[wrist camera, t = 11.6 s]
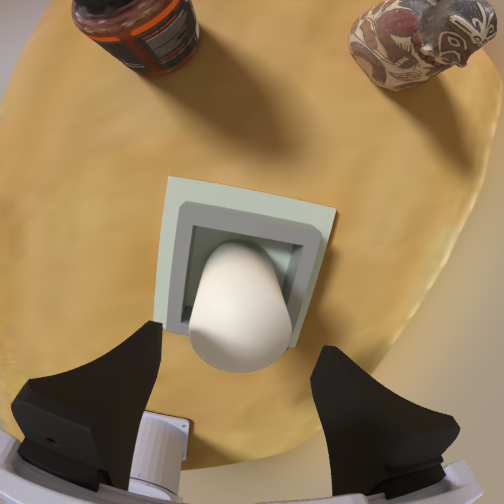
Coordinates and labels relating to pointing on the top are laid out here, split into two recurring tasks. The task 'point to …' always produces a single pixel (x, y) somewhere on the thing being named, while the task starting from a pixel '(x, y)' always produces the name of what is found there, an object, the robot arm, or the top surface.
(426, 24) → the figurine
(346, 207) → the top surface
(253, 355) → the cream white egg
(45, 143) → the top surface
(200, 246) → the cup holder
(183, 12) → the supplement bottle
